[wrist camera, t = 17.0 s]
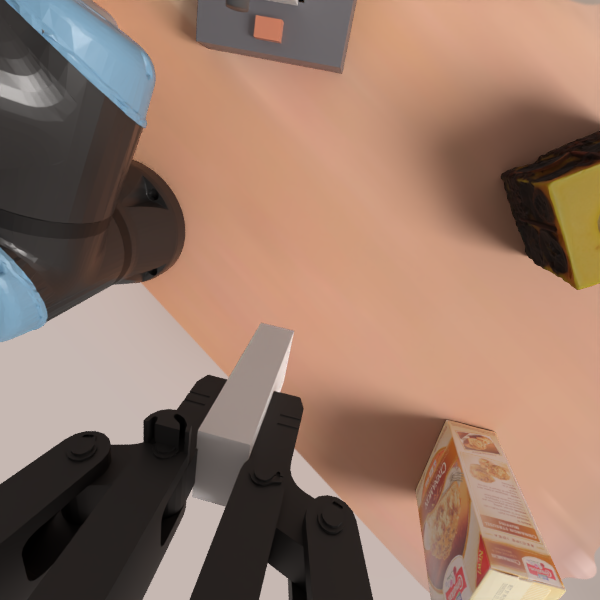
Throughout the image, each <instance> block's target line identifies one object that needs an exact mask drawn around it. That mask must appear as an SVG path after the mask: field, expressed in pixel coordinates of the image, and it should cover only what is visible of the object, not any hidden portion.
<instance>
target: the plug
mask: <svg viewBox="0 0 600 600" xmlns="http://www.w3.org/2000/svg"><path fill="white" fill-rule="evenodd" d="M249 1H250V0H226V4H225V5H226V7H228V8H230V9H232V10H235V11H238V12H248V11H249ZM268 1H273V2H279V3H285V4H291V5H296V6H298V1H299V2H302V0H268Z"/></svg>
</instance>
